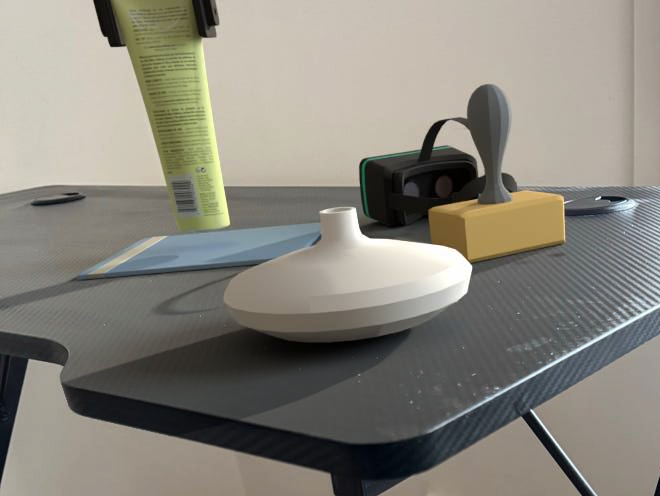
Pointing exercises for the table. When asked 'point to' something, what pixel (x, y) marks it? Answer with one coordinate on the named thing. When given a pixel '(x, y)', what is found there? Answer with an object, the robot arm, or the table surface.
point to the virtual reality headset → (420, 180)
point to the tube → (177, 106)
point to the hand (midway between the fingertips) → (163, 40)
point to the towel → (206, 250)
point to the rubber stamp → (496, 195)
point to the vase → (347, 286)
